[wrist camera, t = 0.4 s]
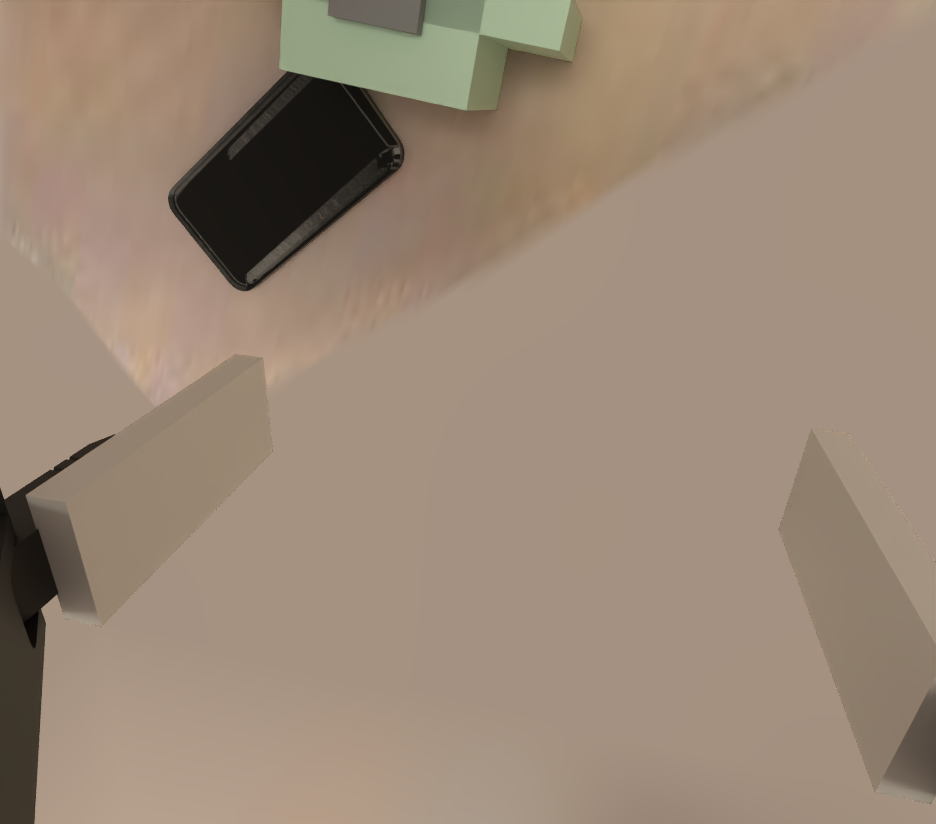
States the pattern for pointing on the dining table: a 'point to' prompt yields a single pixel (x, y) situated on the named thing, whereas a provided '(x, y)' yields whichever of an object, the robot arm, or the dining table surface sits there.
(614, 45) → the dining table surface
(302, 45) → the green stepped block
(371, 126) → the phone
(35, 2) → the dining table surface
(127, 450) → the robot arm
